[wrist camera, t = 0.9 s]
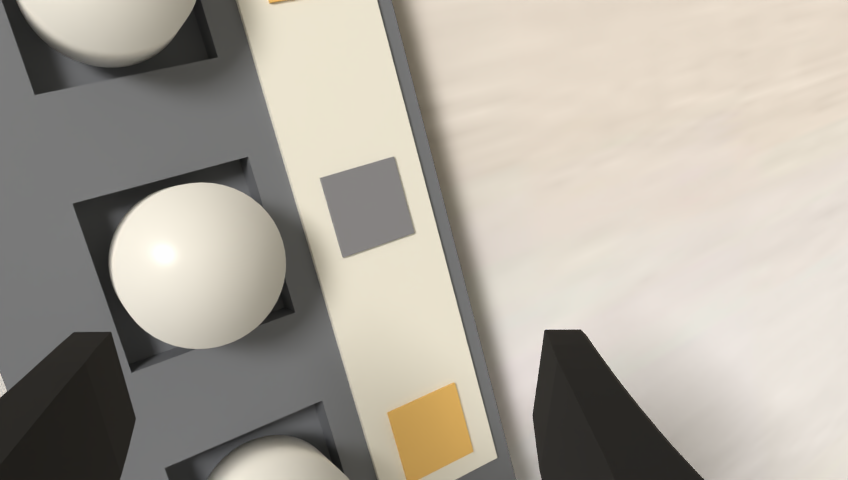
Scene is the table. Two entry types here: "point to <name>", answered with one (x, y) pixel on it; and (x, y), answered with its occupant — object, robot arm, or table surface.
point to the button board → (295, 219)
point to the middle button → (197, 264)
